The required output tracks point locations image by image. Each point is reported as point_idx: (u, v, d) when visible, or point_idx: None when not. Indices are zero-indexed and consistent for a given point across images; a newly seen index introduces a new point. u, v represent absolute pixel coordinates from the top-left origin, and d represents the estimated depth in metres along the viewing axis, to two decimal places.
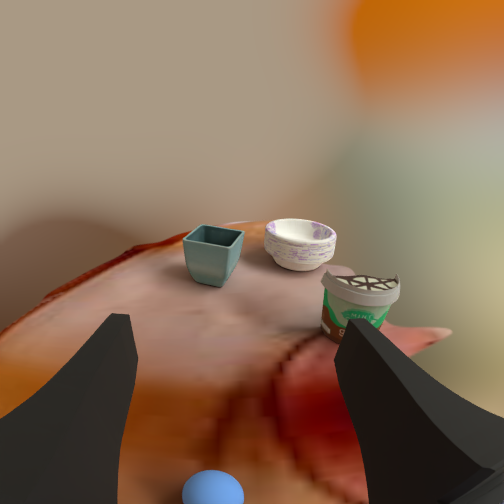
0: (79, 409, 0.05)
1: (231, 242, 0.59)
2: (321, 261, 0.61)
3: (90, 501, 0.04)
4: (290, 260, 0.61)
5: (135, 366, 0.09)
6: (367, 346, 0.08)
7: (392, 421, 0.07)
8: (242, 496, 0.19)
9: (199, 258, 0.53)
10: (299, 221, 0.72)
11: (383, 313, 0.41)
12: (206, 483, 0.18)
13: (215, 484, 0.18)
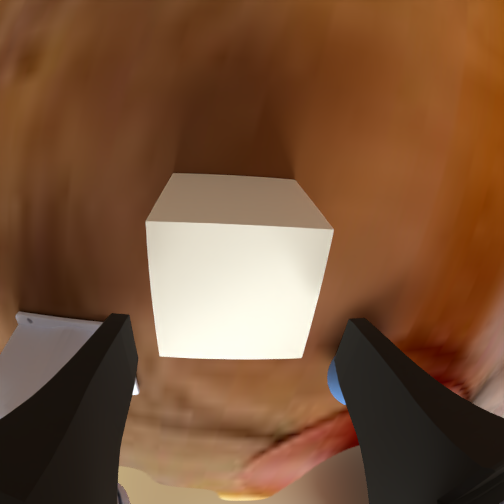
0: (79, 409, 0.05)
1: None
2: None
3: (90, 501, 0.04)
4: None
5: (135, 366, 0.09)
6: (367, 346, 0.08)
7: (392, 421, 0.07)
8: None
9: None
10: None
11: None
12: None
13: None
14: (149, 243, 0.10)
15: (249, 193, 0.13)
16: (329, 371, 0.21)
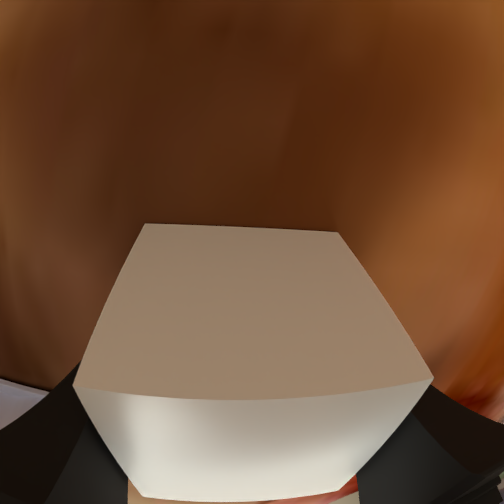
0: None
1: None
2: None
3: None
4: None
5: None
6: None
7: None
8: None
9: None
10: None
11: None
12: None
13: None
14: (90, 413, 0.04)
15: (274, 278, 0.08)
16: None
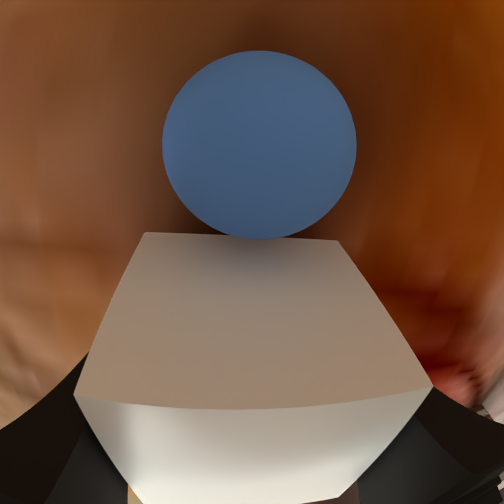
0: None
1: None
2: None
3: None
4: None
5: None
6: None
7: None
8: (263, 56, 0.06)
9: None
10: None
11: None
12: None
13: None
14: (91, 422, 0.04)
15: (273, 287, 0.08)
16: None
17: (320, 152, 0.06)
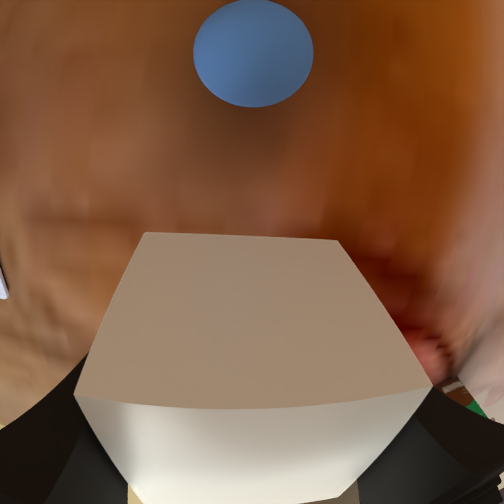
0: None
1: None
2: None
3: None
4: None
5: None
6: None
7: None
8: None
9: None
10: None
11: None
12: None
13: None
14: (91, 421, 0.04)
15: (273, 287, 0.08)
16: (195, 39, 0.10)
17: None
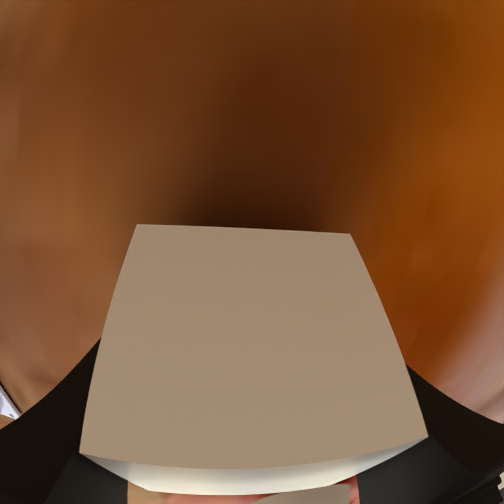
0: None
1: None
2: None
3: None
4: None
5: None
6: None
7: None
8: None
9: None
10: None
11: None
12: None
13: None
14: (98, 463, 0.04)
15: (278, 309, 0.07)
16: None
17: None
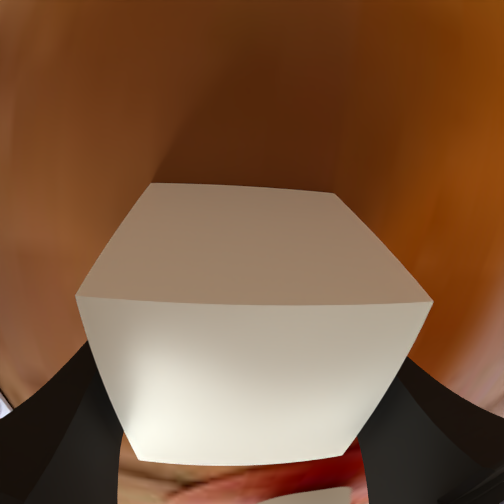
0: (79, 409, 0.05)
1: None
2: None
3: (90, 501, 0.04)
4: None
5: None
6: None
7: (392, 421, 0.07)
8: None
9: None
10: None
11: None
12: None
13: None
14: (89, 333, 0.05)
15: (273, 220, 0.08)
16: None
17: None
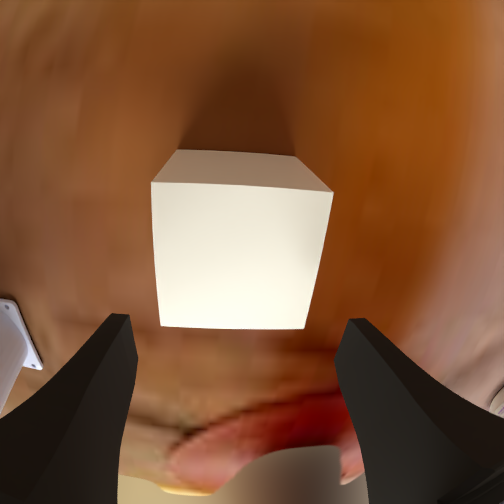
0: (79, 409, 0.05)
1: None
2: None
3: (90, 501, 0.04)
4: None
5: (135, 366, 0.09)
6: (367, 346, 0.08)
7: (392, 421, 0.07)
8: None
9: None
10: None
11: None
12: None
13: None
14: (154, 204, 0.11)
15: (251, 164, 0.14)
16: None
17: None
